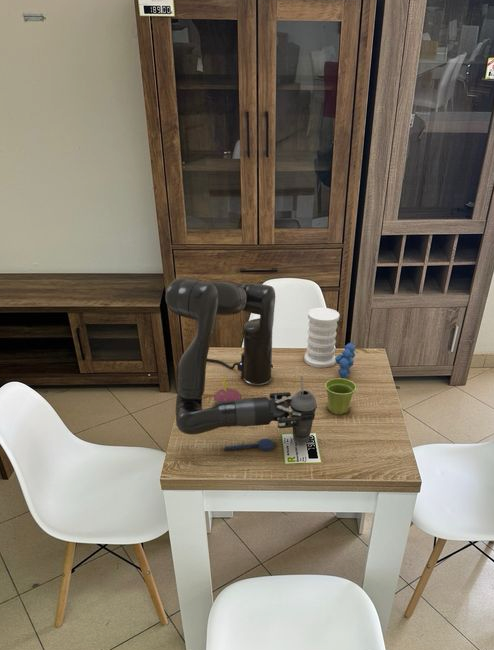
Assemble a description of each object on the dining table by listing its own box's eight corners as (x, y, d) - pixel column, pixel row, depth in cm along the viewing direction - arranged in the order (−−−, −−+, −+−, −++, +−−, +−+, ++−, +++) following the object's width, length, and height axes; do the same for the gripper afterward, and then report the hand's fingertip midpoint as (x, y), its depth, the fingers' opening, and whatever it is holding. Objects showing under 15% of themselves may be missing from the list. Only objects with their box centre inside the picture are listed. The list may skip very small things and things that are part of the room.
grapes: (338, 366, 194) (341, 335, 187) (356, 370, 192) (360, 339, 185) (328, 381, 184) (331, 349, 178) (347, 385, 182) (351, 353, 176)
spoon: (225, 454, 149) (225, 451, 148) (223, 444, 152) (223, 442, 152) (275, 449, 151) (275, 447, 151) (272, 440, 155) (272, 437, 154)
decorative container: (302, 352, 201) (305, 307, 191) (333, 352, 202) (337, 307, 192) (305, 367, 191) (308, 320, 182) (338, 367, 192) (343, 320, 183)
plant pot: (351, 419, 165) (354, 395, 161) (320, 415, 167) (323, 391, 162) (354, 403, 173) (357, 380, 168) (325, 399, 174) (327, 376, 170)
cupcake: (208, 410, 166) (206, 376, 160) (229, 400, 172) (228, 367, 165) (227, 422, 162) (226, 387, 155) (247, 411, 167) (248, 377, 160)
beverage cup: (305, 450, 150) (310, 388, 139) (283, 440, 153) (286, 379, 142) (318, 437, 155) (324, 376, 144) (296, 428, 158) (301, 368, 147)
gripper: (256, 415, 138) (318, 410, 141) (247, 386, 149) (305, 382, 153) (255, 439, 142) (316, 433, 145) (247, 409, 153) (304, 404, 157)
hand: (310, 407), depth 149 cm, fingers closed on beverage cup, 7 cm apart
